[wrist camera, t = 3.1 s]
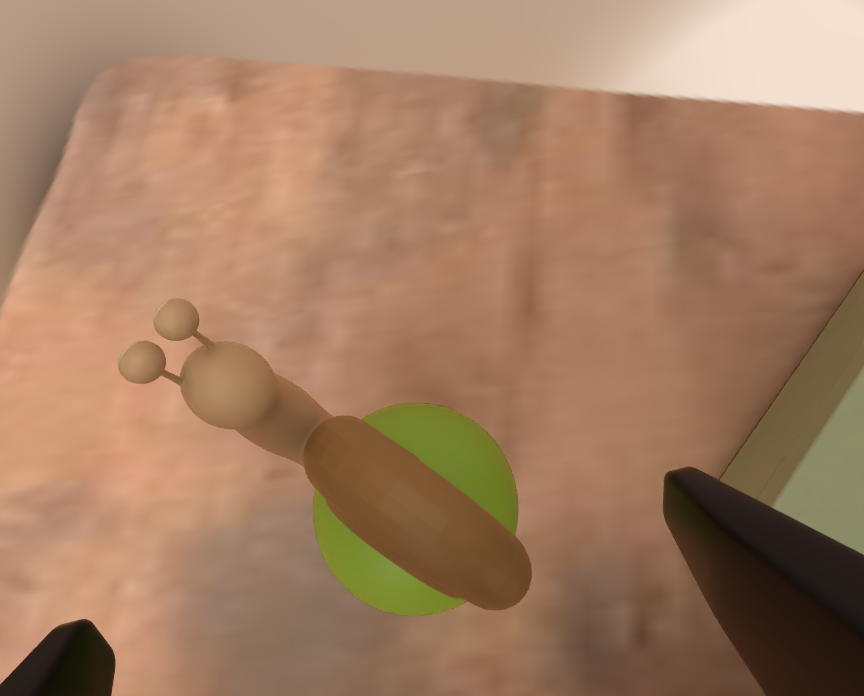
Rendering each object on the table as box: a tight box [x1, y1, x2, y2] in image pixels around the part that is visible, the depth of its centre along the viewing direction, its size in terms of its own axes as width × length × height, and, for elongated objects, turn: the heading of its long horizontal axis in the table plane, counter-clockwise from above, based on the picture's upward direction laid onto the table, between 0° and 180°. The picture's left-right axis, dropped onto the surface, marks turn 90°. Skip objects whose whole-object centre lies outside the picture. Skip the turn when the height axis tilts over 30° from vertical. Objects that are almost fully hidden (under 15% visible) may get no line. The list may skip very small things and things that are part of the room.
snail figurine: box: [118, 299, 532, 616], centre depth 12 cm, size 5×6×12 cm
